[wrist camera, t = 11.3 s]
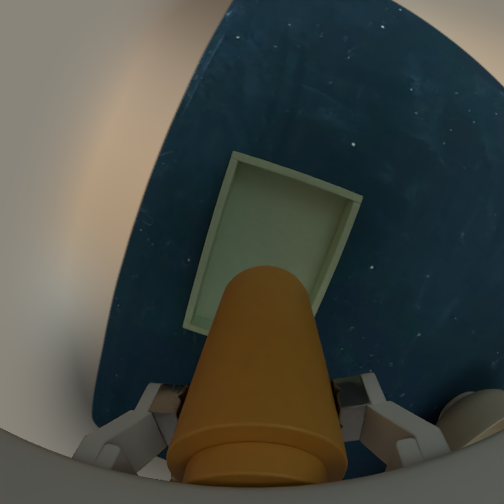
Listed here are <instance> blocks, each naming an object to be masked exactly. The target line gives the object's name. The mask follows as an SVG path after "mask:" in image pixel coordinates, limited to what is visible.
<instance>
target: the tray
mask: <svg viewBox="0 0 504 504" xmlns="http://www.w3.org/2000/svg"><path fill="white" fill-rule="evenodd" d="M362 199H363V196H361V195H358V194H356V193H353V192H351V191H348V190H346V189H343V188H341V187H338V186H336V185H333V184H330V183H328V182H325V181H322V180H320V179H317V178H314V177H312V176H309V175H306V174H303V173H300V172H298V171H295V170H292V169H289V168H286V167H283V166H280V165H277V164H274V163H271V162H268V161H265V160H262V159H259V158H255V157H252V156H249V155H246V154H243V153H239V152H236V151H233V152H232V155H231V159H230V161H229V164H228V168H227V171H226V174H225V177H224V180H223V184H222V187H221V190H220V193H219V197H218V200H217V203H216V207H215V210H214V213H213V217H212V220H211V223H210V227H209V230H208V234H207V237H206V241H205V244H204V248H203V251H202V255H201V259H200V262H199V266H198V269H197V273H196V277H195V281H194V284H193V288H192V292H191V296H190V300H189V303H188V307H187V311H186V315H185V319H184V323H183V328H186V329H188V330H191V331H194V332H197V333H200V334H203V335H206V336H208V334H209V331H210V328H211V325H212V323H213V320H214V317H215V314H216V312H217V309H218V306H219V303H220V301H221V298H222V295H223V292H224V290H225V288H226V286H227V284H228V283H229V282H230V281H231V280H232V279H233V278H234V277H235V276H236V275H237V274H239V273H240V272H242V271H244V270H246V269H248V268H252V267H255V266H275V267H279V268H282V269H285V270H287V271H288V272H290V273H292V274H293V275H295V276H296V277H297V278H298V279H299V280H300V281H301V282H302V284H303V285H304V287H305V289H306V291H307V293H308V297H309V300H310V304H311V308H312V312H313V315H314V317H315V314H316V312H317V310H318V308H319V306H320V303H321V301H322V299H323V297H324V294H325V292H326V290H327V287H328V285H329V283H330V280H331V278H332V276H333V273H334V271H335V269H336V266H337V264H338V261H339V259H340V257H341V254H342V252H343V249H344V247H345V244H346V242H347V239H348V236H349V234H350V231H351V229H352V226H353V223H354V221H355V218H356V215H357V213H358V210H359V207H360V204H361V202H362Z"/></svg>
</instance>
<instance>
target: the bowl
mask: <svg viewBox="0 0 504 504" xmlns="http://www.w3.org/2000/svg"><path fill="white" fill-rule="evenodd" d="M435 426H436V427H438V428H440V430H441V432H442V434H443V436H444V438H445V440H446V442H447V444H448V446H449V448H450V450H451V452H453V451H456V450H458V449H461V448H463V447H466V446H468V445H470V444H473V443H475V442H477V441H480V440H482V439H484V438H486V437H488V436H491V435H493V434H495V433H497V432H499V431H501V430H503V429H504V391H503V390H500V389H485V390H480V391H477V392H465V393H462V394H460V395H458V396H457V397H455V398H454V399H452V400H451V401H450V402H449V403H448V404H447V405H446V406H445V407H444V408H443V410H442V411H441V413H440V416H439V420H438V422H437V423H436V425H435Z"/></svg>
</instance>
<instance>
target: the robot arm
mask: <svg viewBox="0 0 504 504" xmlns="http://www.w3.org/2000/svg"><path fill="white" fill-rule="evenodd" d="M189 387H190V386H188V385H176V384H160V383H150V384H148V386H147V387H146V389H145V391H144V393H143V395H142V397H141V399H140V401H139V403H138V404H137V406H136V408H135V410H130V411H129V412H127V413H125V414H123V415H122V416H120V417H118V418H117V419H115V420H113V421H112V422H110V423H108V424H106V425H105V426H103V427H101V428H99V429H98V430H96V431H94V432H92V433H90V434H89V435H87V436H85V437H84V439H83V440H82V442H81V443H80V445H79V447H78V448H77V450H76V452H75V453H74V455H73V457H72V458H70V457H67V456H64V455H61V454H59V453H56V452H53V451H51V450H48V449H46V448H43V447H41V446H38V445H36V444H34V443H31V442H29V441H27V440H24V439H22V438H20V437H18V436H16V435H14V434H11V433H10V432H8V431H6V430H3V429H1V428H0V504H504V429H503V430H501V431H499V432H497V433H495V434H493V435H491V436H488V437H486V438H484V439H482V440H480V441H477V442H475V443H473V444H470V445H468V446H466V447H463V448H461V449H458V450H456V451H453V452H451V450H450V448H449V446H448V444H447V442H446V440H445V438H444V436H443V434H442V432H441V430H440V428H438V427H436V426H435V425H433V424H431V423H429V422H427V421H425V420H424V419H422V418H420V417H418V416H416V415H415V414H413V413H411V412H409V411H407V410H406V409H404V408H402V407H400V406H399V405H397V404H395V403H393V402H392V401H386V399H385V397H384V394H383V392H382V390H381V388H380V385H379V383H378V381H377V378H376V376H375V374H374V373H373V372H371V373H366V374H360V375H355V376H349V377H342V378H334V379H332V380H331V387H332V391H333V396H334V400H335V404H336V409H337V413H338V418H339V422H340V427H341V431H342V436H343V441H344V442H347V441H354V440H360V441H361V442H362V443H363V444H364V445H365V446H366V447H367V448H368V449H369V450H371V451H372V452H373V453H374V454H375V455H376V456H377V457H378V458H380V459H381V460H382V461H383V462H384V463H385V464H387V467H386V470H385V472H384V473H379V474H375V475H370V476H365V477H360V478H355V479H349V480H343V481H336V482H329V483H321V484H312V485H301V486H286V487H221V486H206V485H195V484H186V483H178V482H171V481H164V480H158V479H151V478H146V477H141V476H138V475H137V472H138V471H139V470H141V469H142V468H143V467H144V466H145V465H146V464H147V463H149V462H150V461H151V460H152V459H153V458H154V457H156V456H157V455H158V454H159V453H160V452H161V451H162V450H163V449H164V448H166V447H167V445H170V442H171V439H172V436H173V433H174V431H175V428H176V425H177V422H178V419H179V416H180V413H181V410H182V407H183V405H184V402H185V399H186V396H187V393H188V390H189Z"/></svg>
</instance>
